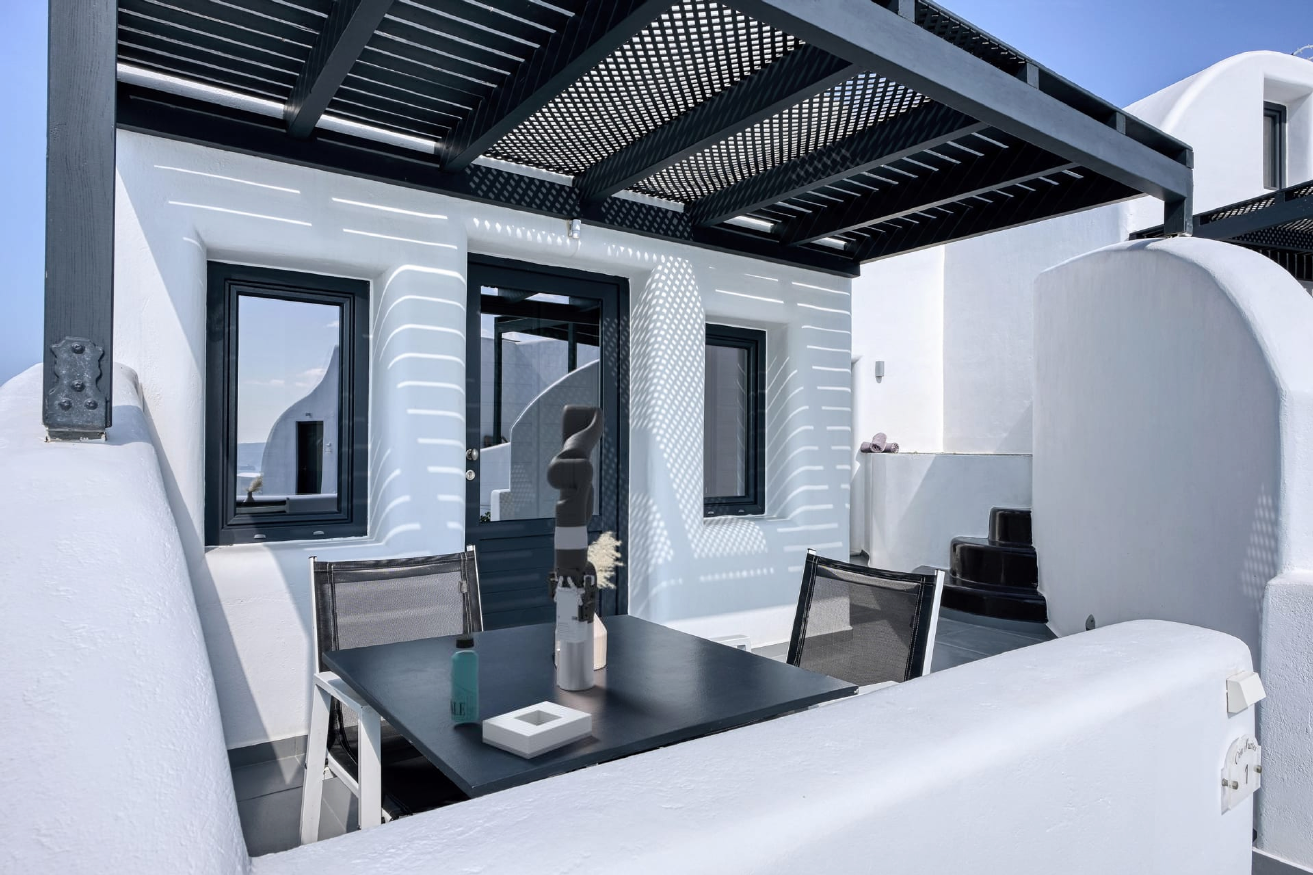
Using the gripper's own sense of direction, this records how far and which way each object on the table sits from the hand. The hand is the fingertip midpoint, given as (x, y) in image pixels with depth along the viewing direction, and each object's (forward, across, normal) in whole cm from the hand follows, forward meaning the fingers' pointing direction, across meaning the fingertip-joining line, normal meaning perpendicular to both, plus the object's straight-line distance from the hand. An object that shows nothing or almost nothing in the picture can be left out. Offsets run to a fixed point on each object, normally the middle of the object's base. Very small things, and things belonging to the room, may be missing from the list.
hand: (571, 619), depth 179 cm
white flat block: (+24, +1, +10) cm, 26 cm away
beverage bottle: (+24, +21, +14) cm, 35 cm away
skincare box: (+5, 0, 0) cm, 5 cm away
